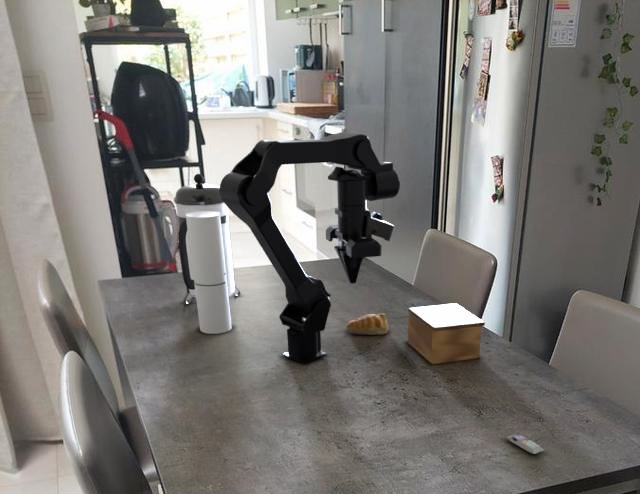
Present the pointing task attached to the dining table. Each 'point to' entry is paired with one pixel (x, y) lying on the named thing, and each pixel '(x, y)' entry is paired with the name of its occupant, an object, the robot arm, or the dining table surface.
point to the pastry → (369, 324)
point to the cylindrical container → (209, 271)
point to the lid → (446, 317)
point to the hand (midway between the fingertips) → (352, 282)
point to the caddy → (443, 342)
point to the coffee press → (187, 202)
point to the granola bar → (525, 443)
